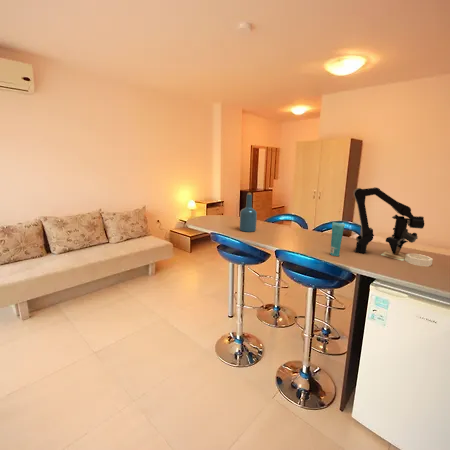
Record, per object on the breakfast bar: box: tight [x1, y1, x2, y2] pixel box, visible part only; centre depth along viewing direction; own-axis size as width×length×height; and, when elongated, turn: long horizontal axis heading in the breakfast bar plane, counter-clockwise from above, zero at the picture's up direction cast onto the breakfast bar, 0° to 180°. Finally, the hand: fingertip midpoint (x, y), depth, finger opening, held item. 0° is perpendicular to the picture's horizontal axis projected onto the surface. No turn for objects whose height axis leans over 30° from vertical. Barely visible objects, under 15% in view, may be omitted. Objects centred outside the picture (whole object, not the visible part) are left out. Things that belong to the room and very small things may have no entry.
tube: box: [329, 221, 346, 257], centre depth 152 cm, size 7×5×19 cm, turn 47°
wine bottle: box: [239, 192, 258, 233], centre depth 205 cm, size 14×13×30 cm
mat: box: [380, 252, 405, 262], centre depth 154 cm, size 12×12×1 cm
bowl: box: [404, 252, 434, 268], centre depth 143 cm, size 11×11×4 cm
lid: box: [383, 247, 406, 260], centre depth 153 cm, size 12×12×5 cm
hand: (396, 252), depth 153 cm, fingers open, 5 cm apart
